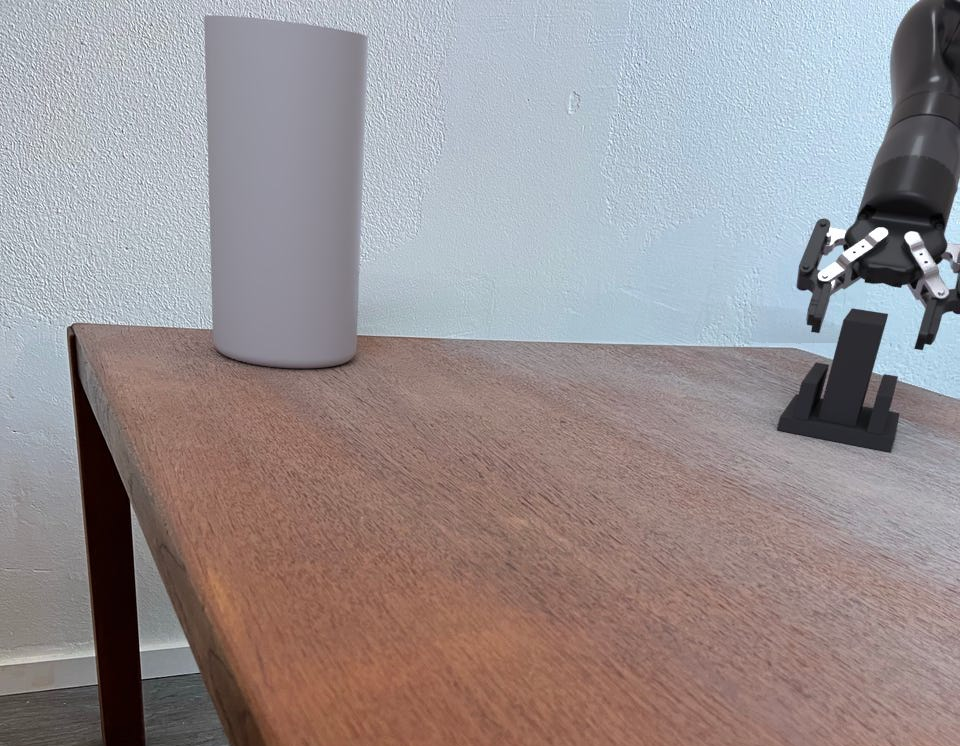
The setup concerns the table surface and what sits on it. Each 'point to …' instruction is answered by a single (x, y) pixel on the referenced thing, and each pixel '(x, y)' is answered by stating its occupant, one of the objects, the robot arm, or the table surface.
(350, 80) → the cylinder vase
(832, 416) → the block
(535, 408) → the table surface
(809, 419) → the base pad
